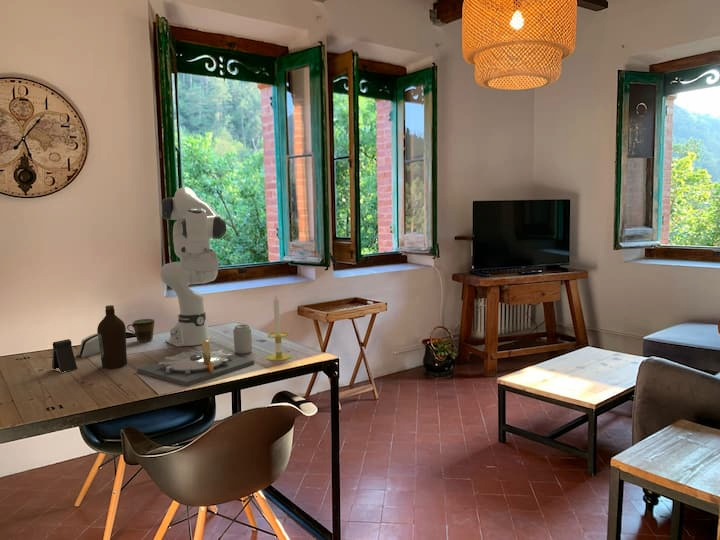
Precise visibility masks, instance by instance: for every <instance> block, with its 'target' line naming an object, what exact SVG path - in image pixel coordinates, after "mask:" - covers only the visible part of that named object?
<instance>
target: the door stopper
mask: <svg viewBox="0 0 720 540" xmlns="http://www.w3.org/2000/svg"><path fill="white" fill-rule="evenodd" d="M72 345H73V344H72V340H71V339H63V340H58V341H54V342H52V362H51V369H52V368H53V369H56V368H59V369H60V371H61V372H64V371H68V370H73V371H75V370H74V369H77V370H78V366H77V363H76V358H75V355H74V351H73V346H72Z"/></svg>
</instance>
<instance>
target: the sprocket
mask: <svg viewBox="0 0 720 540" xmlns="http://www.w3.org/2000/svg"><path fill="white" fill-rule="evenodd" d="M210 342H211V340H210V341H209V340H203V341H202V344H201V350H197V351H190V352H186V351H183V352H180V354H175V355H173V356H166V357H163V359H164V360H163V361H164V362H162V361H160V362H161V363H159V362H158V363H159V368H160V369H163V368H165V369H166V373H172V372H178V373H185V374H191V372H200V371H206V370H207V371H209V362H213V370H214V368H218V367H220V366H222V365H224V366H227V365H229V360H232V356H233V355H232V353H227V354H226V353H225V352H224V350H223V349H222V350H221V349H219V350H216V351H215V350H211V343H210Z"/></svg>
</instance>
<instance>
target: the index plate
mask: <svg viewBox="0 0 720 540" xmlns="http://www.w3.org/2000/svg"><path fill="white" fill-rule="evenodd" d="M161 362H164V360H162V361H159V362H155V363H151V364H148V365H144V366H141V367H137V368H136V371H137V373H139V374H142V375H146V376H150V377H154V378H156V379H160V380H164V381H166V382H167V381H169V382H170V383H171V382H172V383H175V384H178V385H181V386H186V387H188V386H191V385H194V384H196V383H200V382H203V381H206V380H209V379H213V378H215V377H216V378H217V377H219V376H221V375H225V374H228V373H231V372H233V371H237V370H239V369H240V370H241V369H243V368H246V367H250V366H252V365H255V360H254V359H250V358H249V359H248V358H245V357H241V356H236V355H232V360H229V365H227V366H224V365H222V366H220V367H218V368H214V370H213V362H209V371H207V370H206V371H200V372H191V374H185V373H178V372H172V373H166V369H165V368H163V369H160V368H159V363H161Z"/></svg>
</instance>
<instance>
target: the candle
mask: <svg viewBox="0 0 720 540" xmlns="http://www.w3.org/2000/svg"><path fill="white" fill-rule="evenodd" d="M273 314H274V315H273V316H274V331H275V332H271V333H269V334H268V335H267V337H268V338H270V339H271V338H272V339H274V340H275V341H274V343H275V344H274V345H275V353H274V354H271V355H268V356H267V357H266V359H267V360H268V361H271V362H272V361H273V362H279V361H287V360H289V359H291V357H292V355H291V354H289V353H283V349H282V348H283V347H282V344H283V343H282V338H286V337H288V335H289V333H288V332H286V331H285V332H283V331H281V320H280V319H281V317H280V315H281V314H280V301H279V299H278V295H275V297H274V299H273Z"/></svg>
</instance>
